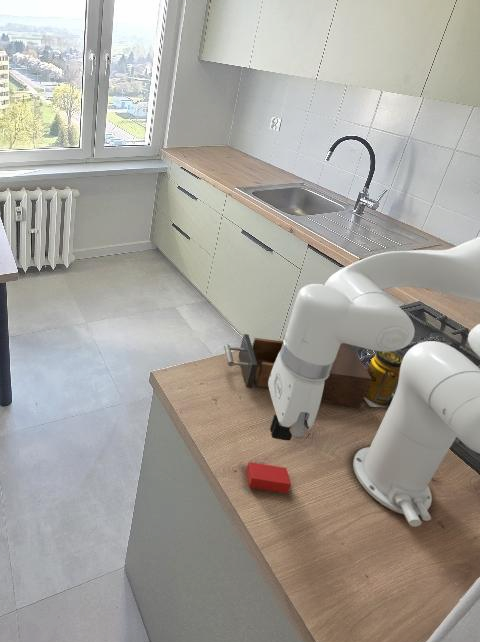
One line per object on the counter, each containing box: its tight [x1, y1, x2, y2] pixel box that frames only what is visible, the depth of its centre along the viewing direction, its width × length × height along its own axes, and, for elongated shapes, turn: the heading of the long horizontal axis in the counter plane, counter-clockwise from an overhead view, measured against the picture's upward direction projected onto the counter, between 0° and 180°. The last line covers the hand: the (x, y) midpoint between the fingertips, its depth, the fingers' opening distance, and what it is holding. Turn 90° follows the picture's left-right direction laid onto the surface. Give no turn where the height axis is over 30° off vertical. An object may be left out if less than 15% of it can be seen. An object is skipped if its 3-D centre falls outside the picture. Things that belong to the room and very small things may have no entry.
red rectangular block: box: [245, 461, 292, 494], centre depth 78 cm, size 7×3×3 cm, turn 83°
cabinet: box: [282, 334, 372, 409], centre depth 100 cm, size 16×12×9 cm
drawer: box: [223, 333, 283, 389], centre depth 101 cm, size 19×10×7 cm, turn 83°
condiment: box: [363, 351, 403, 408], centre depth 97 cm, size 7×8×12 cm
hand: (279, 435), depth 74 cm, fingers closed
